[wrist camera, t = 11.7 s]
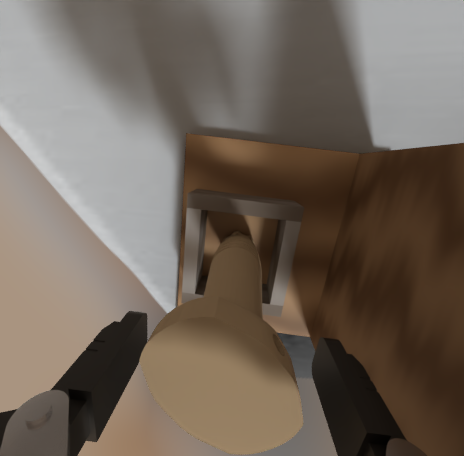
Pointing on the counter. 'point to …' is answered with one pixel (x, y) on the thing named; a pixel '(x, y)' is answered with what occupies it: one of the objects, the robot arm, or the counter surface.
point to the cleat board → (348, 260)
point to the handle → (225, 360)
